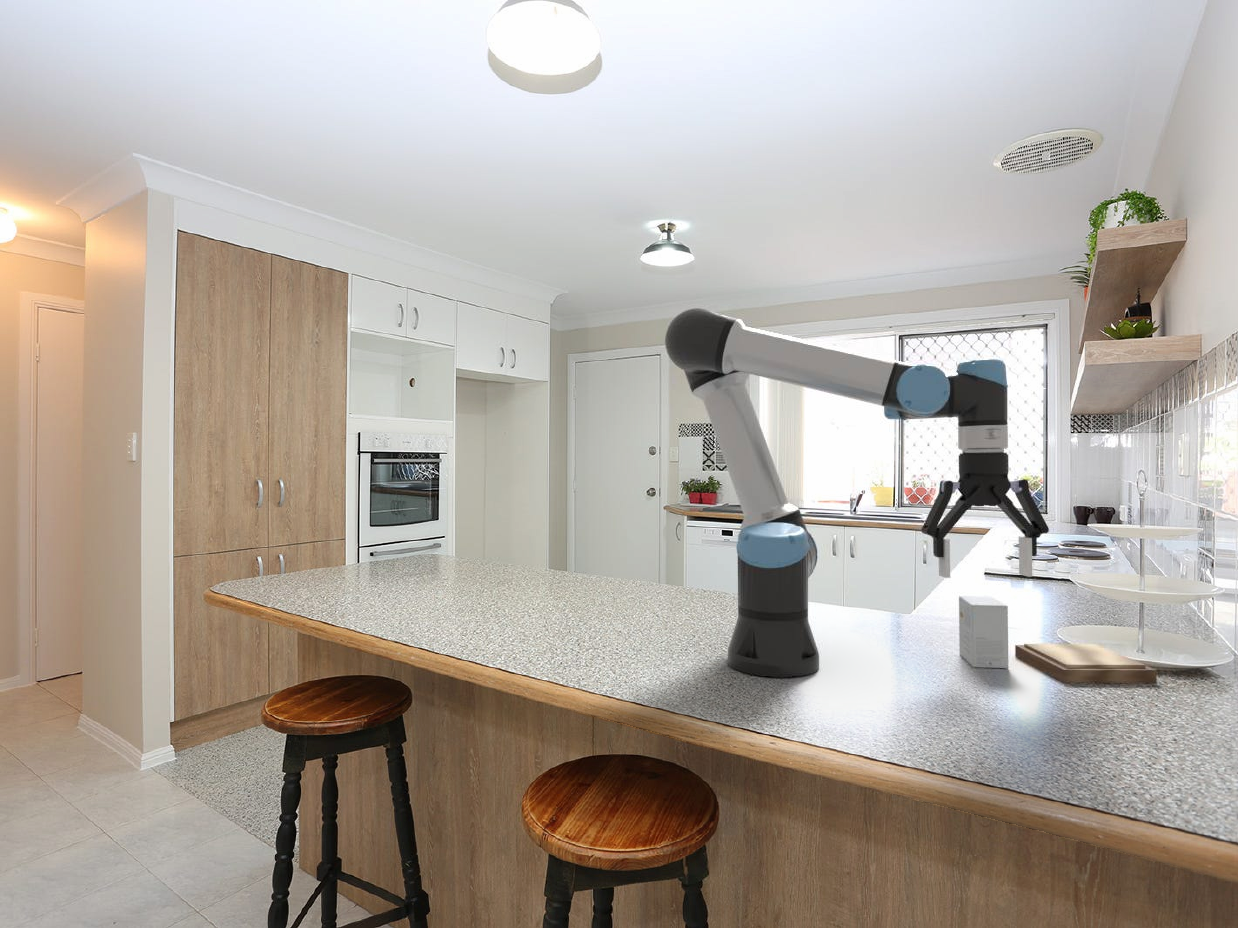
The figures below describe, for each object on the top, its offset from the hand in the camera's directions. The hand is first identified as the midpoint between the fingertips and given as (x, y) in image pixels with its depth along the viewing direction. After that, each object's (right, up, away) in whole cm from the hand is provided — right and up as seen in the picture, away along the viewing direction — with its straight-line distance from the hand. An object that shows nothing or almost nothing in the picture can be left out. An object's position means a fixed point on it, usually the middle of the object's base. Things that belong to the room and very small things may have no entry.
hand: (985, 576), depth 118 cm
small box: (0, -15, 0) cm, 15 cm away
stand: (+14, -15, -4) cm, 20 cm away
